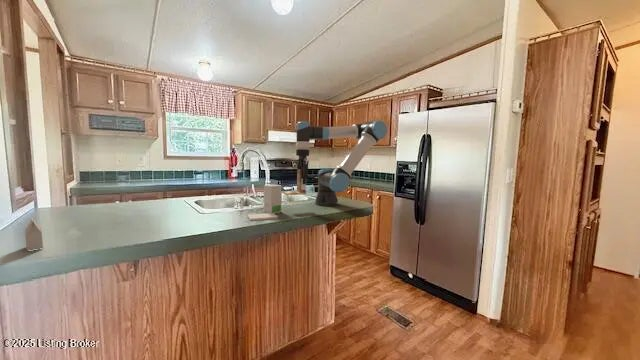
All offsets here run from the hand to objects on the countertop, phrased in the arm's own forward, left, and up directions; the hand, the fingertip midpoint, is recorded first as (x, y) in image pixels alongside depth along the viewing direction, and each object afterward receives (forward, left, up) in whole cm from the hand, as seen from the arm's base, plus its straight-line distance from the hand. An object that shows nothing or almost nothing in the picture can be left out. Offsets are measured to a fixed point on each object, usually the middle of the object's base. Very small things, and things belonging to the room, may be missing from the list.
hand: (301, 189), depth 160 cm
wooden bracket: (+4, 0, -3) cm, 5 cm away
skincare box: (+17, 0, -13) cm, 22 cm away
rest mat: (+25, +10, -13) cm, 30 cm away
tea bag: (+107, +27, -13) cm, 111 cm away
